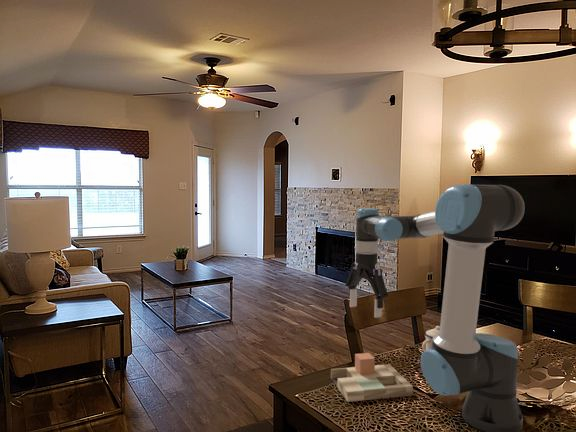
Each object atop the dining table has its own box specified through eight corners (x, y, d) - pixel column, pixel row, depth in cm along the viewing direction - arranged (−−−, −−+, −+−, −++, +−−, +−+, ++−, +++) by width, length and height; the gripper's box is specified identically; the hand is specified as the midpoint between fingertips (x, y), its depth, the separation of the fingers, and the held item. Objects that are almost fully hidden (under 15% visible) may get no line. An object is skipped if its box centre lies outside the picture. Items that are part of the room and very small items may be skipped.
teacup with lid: (437, 350, 172) (438, 321, 171) (455, 359, 164) (456, 328, 163) (414, 356, 167) (414, 325, 166) (431, 364, 159) (432, 333, 158)
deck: (412, 395, 135) (412, 386, 135) (347, 401, 131) (347, 392, 131) (389, 372, 152) (389, 364, 152) (330, 377, 148) (330, 369, 147)
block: (374, 373, 144) (374, 358, 144) (360, 374, 143) (360, 359, 143) (368, 367, 149) (369, 352, 149) (354, 368, 148) (355, 353, 148)
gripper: (400, 257, 145) (397, 320, 147) (353, 246, 167) (351, 301, 169) (382, 259, 141) (380, 323, 143) (336, 247, 163) (335, 303, 165)
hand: (365, 311), depth 156 cm, fingers open, 13 cm apart
